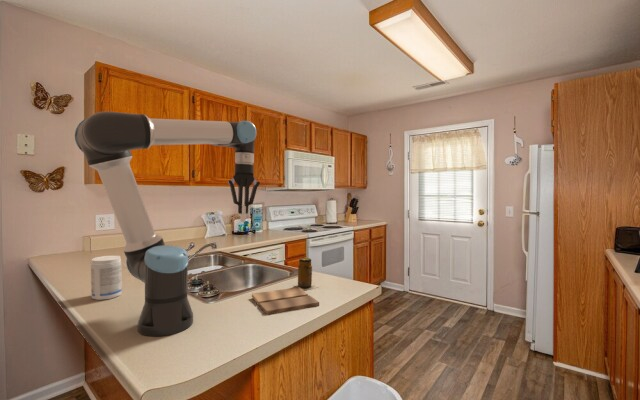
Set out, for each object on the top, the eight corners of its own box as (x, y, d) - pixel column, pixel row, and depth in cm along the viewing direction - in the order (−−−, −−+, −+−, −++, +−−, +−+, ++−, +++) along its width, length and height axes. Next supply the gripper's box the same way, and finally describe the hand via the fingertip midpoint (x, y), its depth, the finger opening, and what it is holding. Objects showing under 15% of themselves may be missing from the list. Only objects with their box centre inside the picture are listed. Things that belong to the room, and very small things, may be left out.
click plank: (258, 305, 114) (258, 301, 114) (251, 296, 121) (252, 293, 121) (308, 297, 123) (308, 294, 123) (299, 289, 131) (299, 287, 130)
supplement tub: (126, 292, 125) (126, 255, 124) (111, 300, 115) (111, 260, 115) (101, 292, 124) (101, 255, 124) (84, 300, 115) (84, 260, 114)
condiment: (306, 282, 142) (307, 256, 142) (318, 287, 136) (318, 260, 136) (293, 285, 138) (293, 258, 137) (304, 290, 131) (305, 262, 131)
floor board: (266, 314, 106) (266, 311, 106) (258, 305, 113) (258, 302, 113) (319, 305, 115) (319, 302, 115) (308, 297, 123) (308, 294, 123)
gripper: (229, 162, 122) (228, 222, 123) (262, 164, 128) (260, 222, 129) (226, 163, 129) (224, 221, 130) (257, 165, 135) (256, 220, 135)
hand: (242, 221), depth 129 cm, fingers closed
